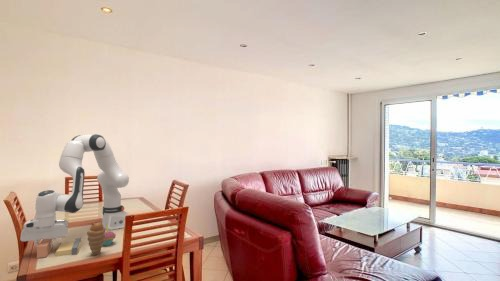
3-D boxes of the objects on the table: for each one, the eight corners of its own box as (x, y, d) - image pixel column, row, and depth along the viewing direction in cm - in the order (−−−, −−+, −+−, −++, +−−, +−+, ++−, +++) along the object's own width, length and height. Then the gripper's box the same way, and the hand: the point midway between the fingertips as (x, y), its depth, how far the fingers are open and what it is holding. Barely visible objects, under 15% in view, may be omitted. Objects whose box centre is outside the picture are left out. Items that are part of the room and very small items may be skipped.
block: (51, 248, 149) (52, 237, 149) (46, 257, 138) (46, 245, 138) (42, 249, 147) (43, 238, 147) (36, 258, 137) (37, 246, 137)
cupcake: (97, 243, 158) (98, 223, 158) (112, 240, 164) (113, 221, 164) (101, 248, 152) (102, 227, 152) (117, 244, 158) (118, 224, 158)
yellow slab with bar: (81, 244, 156) (81, 237, 156) (77, 254, 143) (77, 247, 143) (60, 246, 152) (60, 240, 152) (54, 257, 139) (55, 250, 139)
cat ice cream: (102, 249, 150) (103, 218, 150) (107, 254, 145) (108, 221, 145) (84, 254, 143) (85, 221, 143) (89, 259, 138) (90, 224, 138)
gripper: (69, 217, 150) (68, 241, 150) (23, 221, 141) (22, 247, 141) (67, 220, 144) (66, 246, 145) (19, 225, 135) (18, 252, 136)
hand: (44, 246), depth 143 cm, fingers closed on block, 4 cm apart
